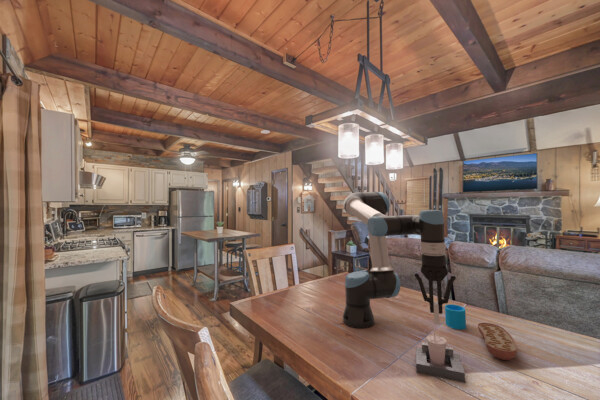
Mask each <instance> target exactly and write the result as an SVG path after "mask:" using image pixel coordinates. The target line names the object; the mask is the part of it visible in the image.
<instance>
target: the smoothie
mask: <svg viewBox="0 0 600 400" xmlns="http://www.w3.org/2000/svg"><path fill="white" fill-rule="evenodd" d="M425 341H426V343H427V344H428V349H429V354H430V360H429V361H430V363H431V364H436V365H441V366H445V363H444V361H445V350H446V347H448V342H447V339H446V338H444V337H443V336H440V335H437V334H436V326H433V334H431V335H427V336H426V338H425Z"/></svg>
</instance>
